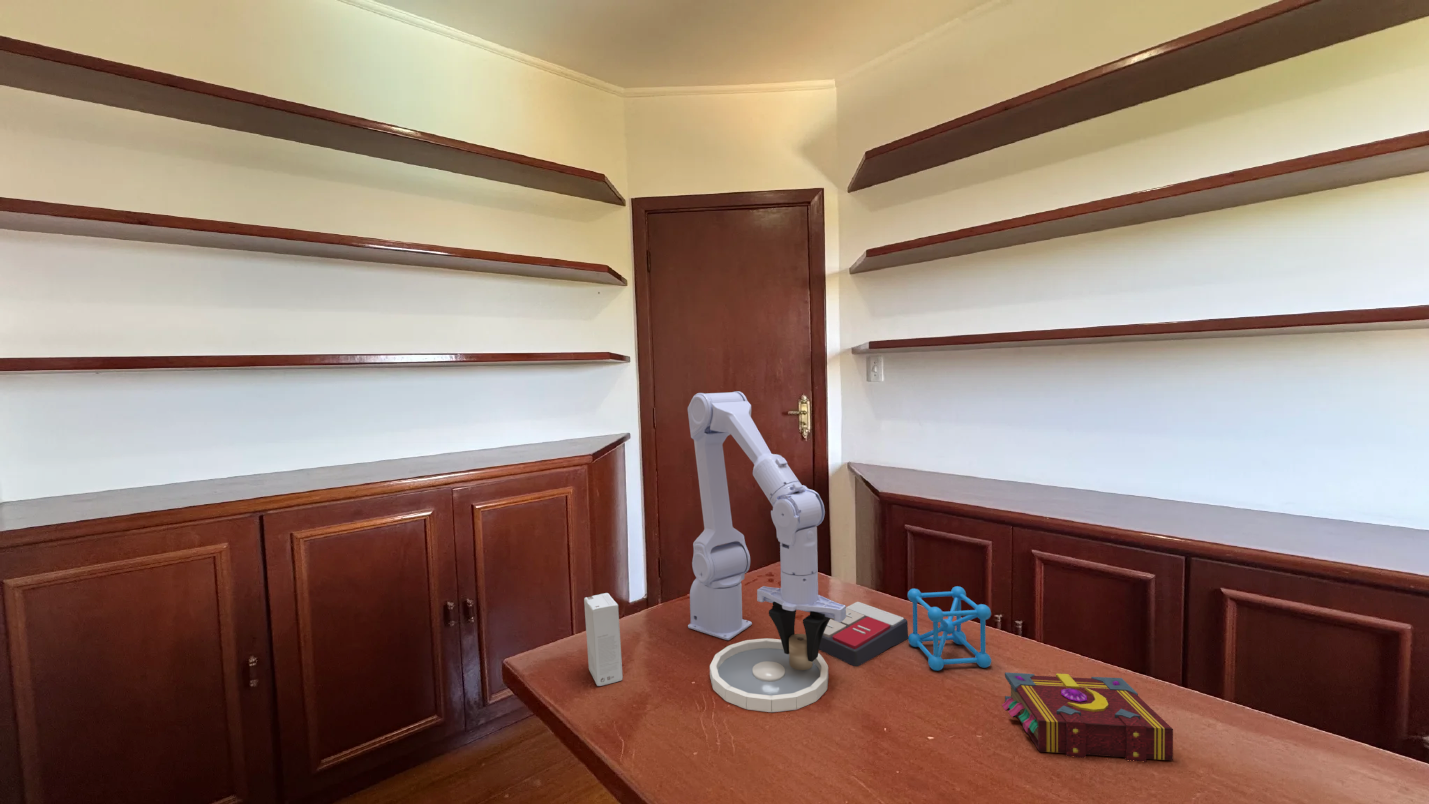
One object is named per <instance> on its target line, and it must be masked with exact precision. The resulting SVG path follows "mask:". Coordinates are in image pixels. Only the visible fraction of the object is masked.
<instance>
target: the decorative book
mask: <svg viewBox="0 0 1429 804" xmlns="http://www.w3.org/2000/svg"><path fill="white" fill-rule="evenodd" d="M1004 678H1005V680H1006V681H1007V683H1008V684H1009V685H1010V695H1005V696H1004V703H1002V704H1001V706H1002V707H1003V709H1004V711H1007V712H1008V714H1009V715H1010V717H1011V718H1013V717H1015V718H1018V721H1019V722H1020V723H1021V725H1022V728H1023V729H1024V731H1025V733H1026V734H1028V736H1029V737H1030V739H1031V741H1032V742H1033V744H1034V745H1035V747H1036V748H1037V750H1038V752H1045V753H1059V754H1065V756H1066V755H1067V756H1074V757H1073V758H1080V757H1081V758H1082V757H1083V758H1082V759H1084V757H1086V756H1087V755H1089V756H1103V757H1104V756H1105V757H1118V758H1124V757H1125V758H1126V759H1125V758H1124V759H1125V761H1127V760H1129V761H1128V762H1138V761H1144V762H1143V763H1147V760H1161V761H1174V729H1173V728H1172V727H1171V725H1169V724H1168V722H1166V721H1165V720H1164V719H1163V718H1162V717H1161V715H1159V714H1158V713H1157V712H1156V711H1154V709H1152V707H1150V706H1149V704H1147V703H1146V702H1145V701H1144V700H1143V699H1142V698H1141V697H1140V696H1139V693H1138V692H1137V691H1136V690H1135V689H1134V688H1133V687H1132V686H1131V685H1130V684H1128V682H1127V681H1125V680H1124V678H1122V677H1106V676H1105V677H1104V676H1102V677H1101V676H1090V677H1088V678H1087V677H1074V676H1073V677H1072V676H1071V675H1070V674H1068V673H1055V676H1050V675H1048V676H1047V675H1035V673H1022V672H1004ZM1067 756H1066V757H1067ZM1130 760H1131V761H1130ZM1133 760H1134V761H1133Z"/></svg>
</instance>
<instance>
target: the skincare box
mask: <svg viewBox="0 0 1429 804" xmlns="http://www.w3.org/2000/svg"><path fill="white" fill-rule="evenodd" d="M583 603H584V616H585V617H584V619H585V632H586V644H587V645H586V646H587V663H588V670H589V672H590V675H591V677H592V678H593V680H594V683H595V684H596V687H601V686H607V685H610V684H614V683H617V682H618V683H619V682H620V681H623V678H624V677H623V664H622V662H623V661H622V648H621V647H622V646H621V644H622V643H621V632H620V631H621V630H620V627H621V626H620V617H619V616H620V614H619V604H618V603H617V602H616V601H615V600H614V598H613V596H611V595H610V593H608V592H605V593H600V594H595V595H591V596H588V597H587V596H586V597H584V599H583Z"/></svg>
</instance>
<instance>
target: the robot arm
mask: <svg viewBox="0 0 1429 804" xmlns="http://www.w3.org/2000/svg"><path fill="white" fill-rule="evenodd" d="M687 414H688V423H689V432H690V438H691V439H692V440H693V443H694V451H695V461H696V468H697V469H696V470H697V477H698V485H699V495H700V502H701V512H702V520H703V528H704V529H703V531H702V532H700V534H699V535H698V537H696V539H695V540H694V541H693V544H692V547H693V556H692V561H691V566H692V572H693V574H694V576H695V579H694V580H693V582H692V584H691V586H690V591H689V613H690V623H689V624H688V625H687V627H688V629H691V630H695V631H697V632H700V633H704V634H706V635H710V636H713V637H716V638H719V639H722V640H725V641H730V640H731V639H732V638H734V637H735V636H737V635H738V634H740V633H742V632H743V631H744V630H746V629H748V628H749V627H750V626H751V625H753V623H752V621H750V620H747V619H743V599H742V598H743V597H742V596H743V595H742V581H743V580H745V574H747V573H748V572H749V570H750V566H751V556H750V551H749V550H748V547H747V545H746V541H745V535H744V534H743V533H742V532H740V531H739V530H738V529H736V528H734V526H733V520H732V519H733V518H732V512H731V503H730V495H729V487H728V479H727V471H726V470H727V469H726V463H725V455H724V454H725V453H724V446H723V444H724V443H725V441H726V439H727V438H728V436H732V438H733V439H734V440H735V442H736V443H737V444H738V445H739V447H740V448H741V449H742V451H743V452H744V453H745V455H746V456H747V457H748V458H749V460H750V461H751V462H752V464H753V468H752V469H753V470H752V476H753V477H754V479H755V481H756V482H757V484H758V486H759V487H760V489H761V490H762V492H763V493H764V495H765V496H766V498H767V500H768V501H769V503H770V504H771V506H772V510H770V516H771V520H772V522H773V525H774V527H775V529H776V539H777V540H778V542H779V548H780V549H779V550H780V551H779V553H780V554H779V555H780V588H779V587H773V586H772V587H770V586H766V585H763V586H761V587H760V588H757V590H756V594H757V595H756V597H757V598H756V600H757V602H760V603H765V602H768V603H771V604H772V606H771V608H770V609H769V610H768V616H769V617H770V619H771V621H772V622H773V624H774V626H775V628H776V630H777V632H778V635H779V637H780V640H781V642H782V646H783V649H784V653H785V654H789V637H790V636H791V635H794V634H796V633H795V625H796V616H797V615H796V614H797V611H802V612H806V613H809V615H807V616H806V617H804V618H803V619H802V624H803V628H804V633H805V632H806V638H807V657H808V661H811V662H813V661H814V660H815V659H816V658H817V657H818V653H819V652H820V650H819V647H820V643H821V639H822V636H823V633H824V631H825V629H826V626H827V624H828V622H829V620H830V619H831V618H833V619H834V620H835V621H837V622H842V621H843V620H844V619H845V618H846V607H847V606H846V605H845V604H841V603H838V602H836V601H833V600H831V599H829V598H826V597H824V596H823V595H820V594H819V576H818V567H819V566H818V526H819V525H821V524H822V522H823V521H824V518H825V514H826V511H825V505H824V502H823V500H822V498H821V496H820V494H819V493H818V492H817V491H815V490H813V489H810V488H808V487H807V485H804V484H803V485H802V483H801V482H800V480H799V479H798V477H797V476H796V475H795V473H794V471H793V470H792V469H791V467H790V466H789V464H788V461H787V460H786V458H785V457H783V456H782V455H781V454H777V453H776V454H775V453H772V451H771V450H770V448H769V447H768V445H767V443H766V441H765V439H764V438H763V435H762V434H761V432H760V431H759V430H758V427H757V425H756V423H755V422H754V420H753V418H752V404H751V403H750V402H749V401H748V399H747V396H746V395H745V394H744V393H743V392H742V391H737V390H736V391H735V390H734V391H732V392H710V393H704V392H698V393H696V394H694V395H693V397H692V398H691V400H690V402H689V405H688V406H687Z"/></svg>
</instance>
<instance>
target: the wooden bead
mask: <svg viewBox="0 0 1429 804" xmlns="http://www.w3.org/2000/svg"><path fill="white" fill-rule="evenodd" d="M789 664H790V666H791V667H792V668H794V669H797V670H807V669H810V668H811V667H812V666H813V662H811V661H808V657H807V638H806V635H805V633H795V634H794V635H791V636H790V637H789Z"/></svg>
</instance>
